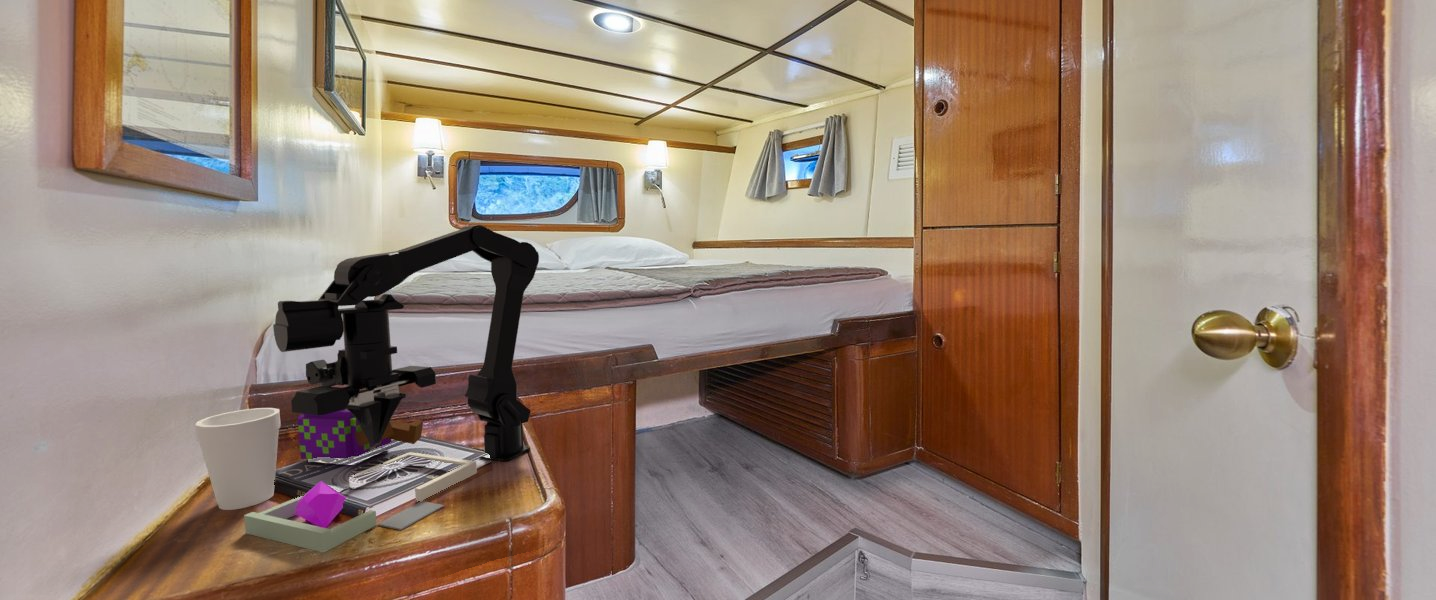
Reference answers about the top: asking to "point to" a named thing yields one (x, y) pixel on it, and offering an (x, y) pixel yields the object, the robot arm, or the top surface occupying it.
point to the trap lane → (324, 539)
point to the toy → (347, 435)
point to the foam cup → (240, 455)
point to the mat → (410, 515)
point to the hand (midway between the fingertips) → (374, 443)
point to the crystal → (320, 505)
